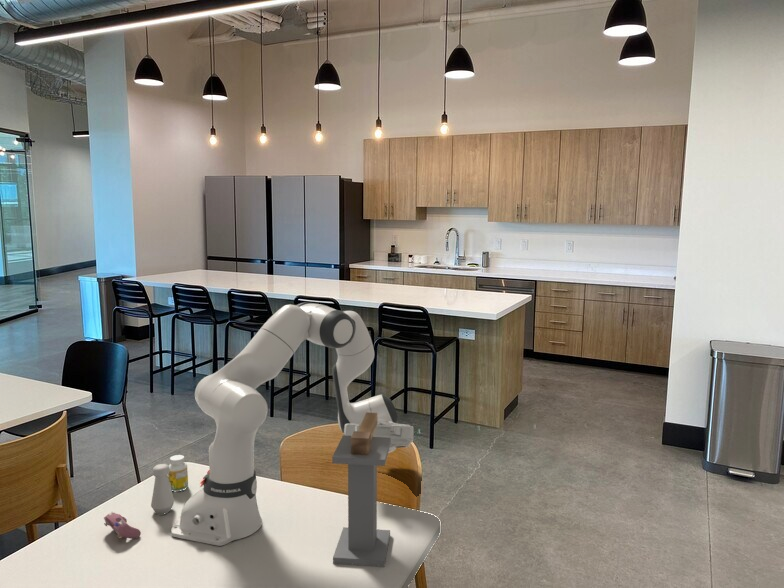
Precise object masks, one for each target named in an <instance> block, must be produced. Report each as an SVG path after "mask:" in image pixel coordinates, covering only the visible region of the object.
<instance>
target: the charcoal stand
mask: <svg viewBox="0 0 784 588" xmlns="http://www.w3.org/2000/svg"><path fill="white" fill-rule="evenodd" d="M351 437H352V436H345V435H344V434H343V435H342V436H341V439H340V441H339V442H338V445H337V446H336V448H335V450H334V452H333V455H332V457H331V459H332V460H331V462H332V464H338V465H347V501H348V503H347V506H348V507H347V508H348V509H347V511H348V512H347V514H348V515H347V518H348V519H347V523H348V524H347V527H346V526H345V527H344V526H343V527H342V531H341V534H340V536H339V539H338V542H337V544H336V545H337V546H336V547H335V551H334V553H333V557H332V563H333V564H335V565H337V564H338V565H351V566H353V565H354V566H365V567H366V566H367V567H380V568H381V567H383V568H384V567H385V564H386V559H387V555H388V549H389V543H390V539H391V530H390V529H377V528H378V526H377V524H378V519H377V516H378V514H377V513H378V512H377V511H378V508H377V507H378V503H377V501H378V497H377V496H378V493H377V492H378V486H377V485H378V467H385V466H386V463H387V459H388V455H389V453H388V452H389V448H390V444H391V438H388V437H373V438H372V440H371V449H370V452H369V455H355V454H351Z"/></svg>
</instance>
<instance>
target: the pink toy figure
mask: <svg viewBox="0 0 784 588" xmlns="http://www.w3.org/2000/svg"><path fill="white" fill-rule="evenodd" d="M103 520H104V521H105V522H103V523H104V524H103V525H104V526H105V527H108V526H109V527H111V529H112V530H113V531H114V532H115V533H116V534H117V537H118V538H121V539H124V538H125V539H132V540H133V539H134V540H135V538H136V539H138V538H140V536H141V533H142V532H141V530H140V529H139V528H137V527H134V526H131V525H129V524H128V523H127V521H128V520H127V518H126V517H124V516H122V514H119V513H116V512H113V511H111V513H108V514H107V515H105V516H104V517H103Z"/></svg>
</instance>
